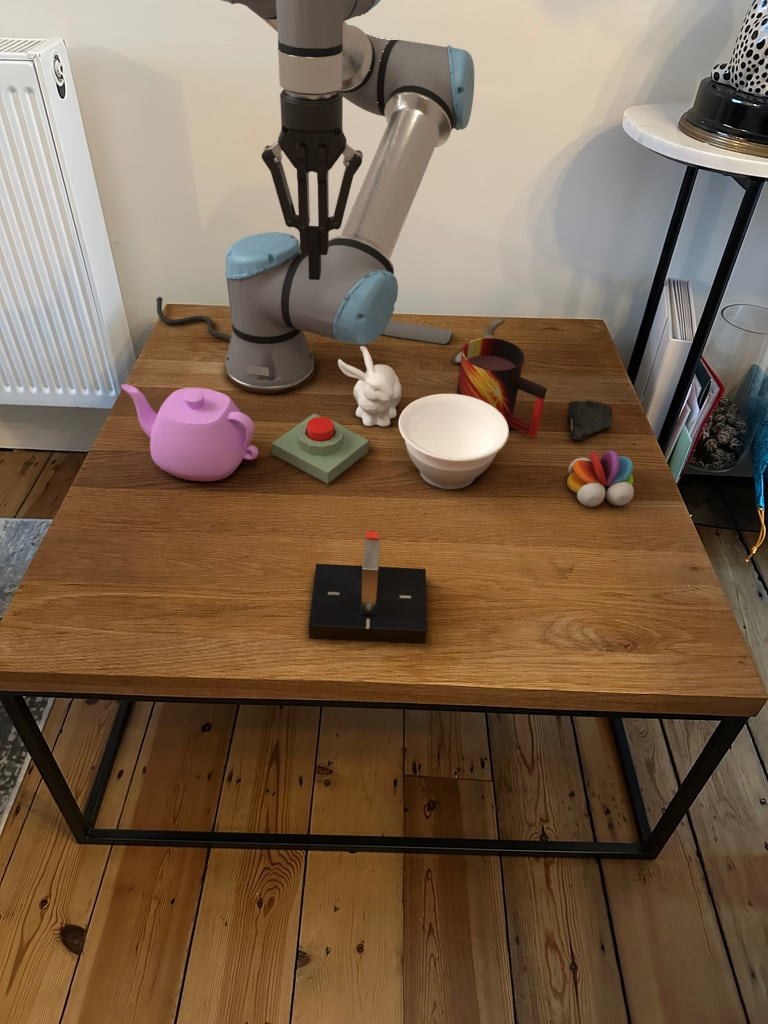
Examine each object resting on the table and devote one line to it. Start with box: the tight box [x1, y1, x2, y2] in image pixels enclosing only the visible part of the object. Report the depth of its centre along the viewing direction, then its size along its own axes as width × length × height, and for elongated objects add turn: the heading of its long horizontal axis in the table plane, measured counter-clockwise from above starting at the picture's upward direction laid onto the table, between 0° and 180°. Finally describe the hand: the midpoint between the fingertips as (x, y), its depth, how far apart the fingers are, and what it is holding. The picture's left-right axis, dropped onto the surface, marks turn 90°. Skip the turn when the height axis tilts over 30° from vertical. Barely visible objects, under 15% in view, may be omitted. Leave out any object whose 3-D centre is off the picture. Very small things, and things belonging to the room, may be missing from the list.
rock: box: [567, 399, 614, 441], centre depth 123 cm, size 9×7×5 cm
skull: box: [453, 317, 506, 364], centre depth 137 cm, size 10×12×6 cm
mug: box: [456, 337, 548, 438], centre depth 122 cm, size 10×14×12 cm
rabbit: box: [337, 345, 402, 427], centre depth 122 cm, size 12×9×12 cm
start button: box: [307, 416, 334, 442], centre depth 114 cm, size 4×4×2 cm
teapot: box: [120, 383, 259, 482], centre depth 111 cm, size 20×13×12 cm, turn 78°
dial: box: [361, 531, 381, 615], centre depth 91 cm, size 6×2×8 cm, turn 178°
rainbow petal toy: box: [566, 450, 635, 508], centre depth 111 cm, size 8×10×7 cm
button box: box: [271, 412, 370, 485], centre depth 116 cm, size 11×10×4 cm
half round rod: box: [381, 320, 453, 345], centre depth 144 cm, size 4×20×2 cm, turn 77°
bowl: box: [397, 393, 510, 490], centre depth 113 cm, size 16×16×9 cm
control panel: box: [308, 563, 428, 644], centre depth 94 cm, size 14×10×3 cm
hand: (315, 275), depth 108 cm, fingers closed
